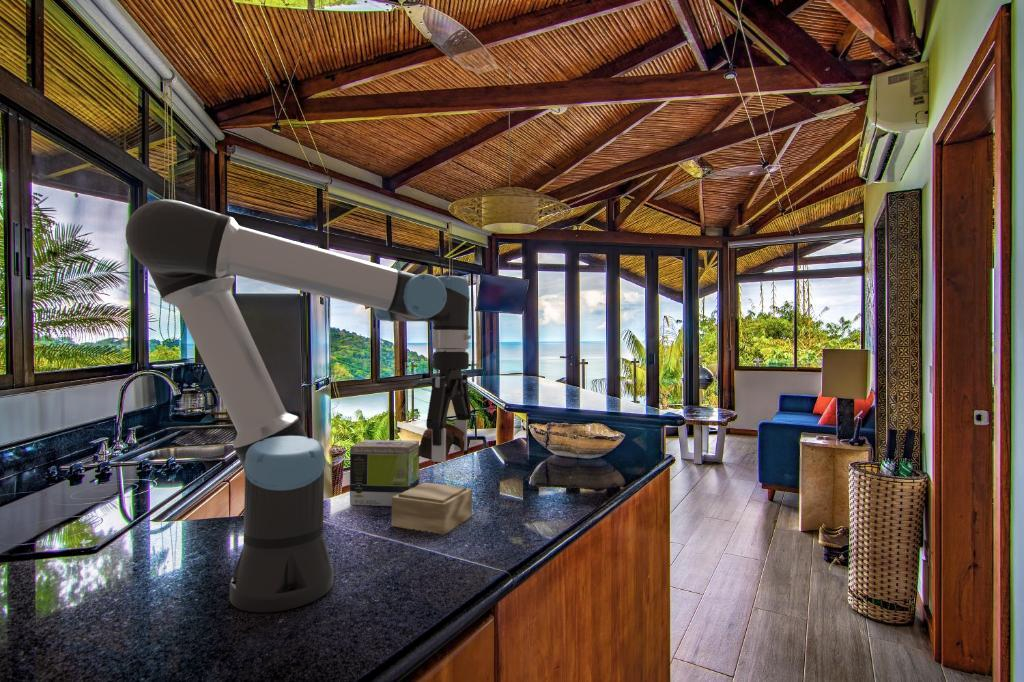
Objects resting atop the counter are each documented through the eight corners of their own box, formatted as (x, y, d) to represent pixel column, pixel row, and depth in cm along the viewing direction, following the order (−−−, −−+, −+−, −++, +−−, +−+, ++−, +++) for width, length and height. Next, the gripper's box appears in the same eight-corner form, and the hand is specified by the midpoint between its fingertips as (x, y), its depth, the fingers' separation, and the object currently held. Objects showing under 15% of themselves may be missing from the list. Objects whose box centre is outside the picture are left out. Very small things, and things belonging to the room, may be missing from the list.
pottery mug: (409, 456, 111) (424, 421, 114) (448, 473, 113) (462, 438, 117) (422, 452, 100) (438, 413, 104) (465, 471, 103) (480, 432, 106)
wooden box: (443, 535, 108) (444, 502, 108) (391, 527, 113) (391, 494, 113) (471, 517, 120) (472, 487, 120) (423, 510, 125) (423, 481, 125)
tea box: (419, 496, 135) (420, 439, 135) (408, 508, 125) (409, 447, 125) (363, 494, 137) (364, 438, 137) (348, 505, 127) (349, 445, 127)
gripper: (445, 351, 96) (444, 469, 96) (485, 350, 119) (485, 445, 119) (408, 351, 98) (407, 466, 98) (455, 350, 121) (454, 444, 121)
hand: (450, 455), depth 109 cm, fingers closed on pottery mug, 11 cm apart
